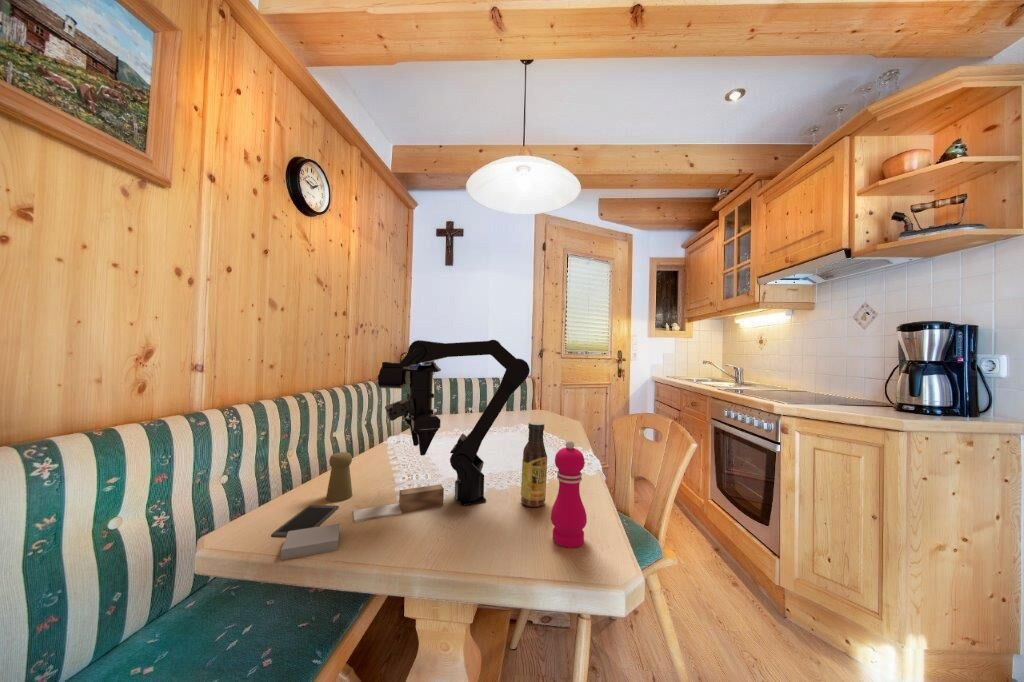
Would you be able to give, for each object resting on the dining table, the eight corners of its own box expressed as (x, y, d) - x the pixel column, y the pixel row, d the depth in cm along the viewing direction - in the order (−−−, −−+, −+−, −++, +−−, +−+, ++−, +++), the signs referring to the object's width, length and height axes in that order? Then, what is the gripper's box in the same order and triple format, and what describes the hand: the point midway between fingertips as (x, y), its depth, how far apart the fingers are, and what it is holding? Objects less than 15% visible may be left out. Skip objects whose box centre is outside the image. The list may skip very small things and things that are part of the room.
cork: (341, 503, 86) (343, 457, 86) (320, 500, 87) (322, 455, 87) (357, 493, 92) (359, 450, 92) (337, 491, 93) (338, 449, 93)
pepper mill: (543, 534, 73) (545, 437, 74) (573, 528, 76) (575, 435, 77) (562, 552, 66) (564, 446, 67) (593, 545, 69) (595, 443, 70)
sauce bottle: (532, 510, 84) (534, 427, 84) (515, 502, 89) (517, 422, 89) (551, 503, 88) (553, 423, 89) (533, 495, 93) (535, 419, 93)
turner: (439, 498, 90) (439, 482, 90) (444, 506, 85) (444, 489, 85) (353, 512, 81) (353, 495, 81) (354, 522, 76) (354, 503, 77)
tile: (339, 523, 72) (288, 531, 69) (337, 540, 66) (281, 549, 62) (339, 534, 72) (287, 542, 69) (337, 551, 66) (280, 562, 62)
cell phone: (340, 508, 84) (340, 505, 84) (306, 539, 70) (306, 535, 70) (309, 507, 84) (309, 504, 84) (269, 538, 70) (269, 535, 70)
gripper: (384, 386, 95) (382, 444, 95) (392, 394, 79) (390, 464, 78) (425, 385, 100) (423, 440, 100) (441, 393, 83) (439, 459, 83)
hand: (419, 450), depth 90 cm, fingers open, 9 cm apart
